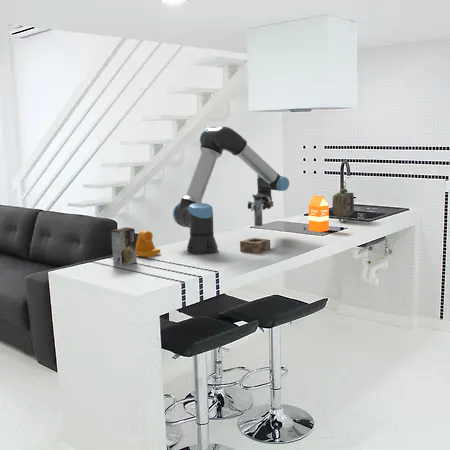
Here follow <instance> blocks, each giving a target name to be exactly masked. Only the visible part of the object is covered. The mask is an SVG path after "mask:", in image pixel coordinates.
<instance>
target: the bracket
mask: <svg viewBox="0 0 450 450" xmlns="http://www.w3.org/2000/svg"><path fill="white" fill-rule="evenodd" d="M153 238H154V237H153V233H152V232H151V231H149V230H143V229H141V230H140V231H139V232H138V234H137V238H136V240H135V244H136V256H138V257H142V258H143V257H144V258H151V257H155V256H158V254H161V248H158V247H157V248H156V247H155V244H154V242H153Z"/></svg>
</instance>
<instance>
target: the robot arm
mask: <svg viewBox="0 0 450 450" xmlns="http://www.w3.org/2000/svg"><path fill="white" fill-rule="evenodd" d="M199 143H200V146H199V149H200V150H199V151H200V152H201V153H200V155H199V159H198V162H197V164H196V167H195V169H194V172H193V175H192V178H191V181H190V183H189V186H188V187H187V188H188V189H187V191H186V194H185V196H184V195H183V196H182V197H181V200H180V201H179V203H178V204H176V205H175V206H174V208H173V210H172V217H173V220H174V222H175V223H176V224H177V225H179V226H180V227H183V228H189V239H188V243H187V246H186V252H187V254H193V255H209V254H214V253H217V252H218V251H219V250H218V249H219V248H218V245H217V244H218V243H217V241H216V238H215V235H214V212H213V211H214V210H213V206H212V205H210V204H209V203H205V202H204V203H202V202H203V198H204V195H205V193H206V191H207V187H208V184H209V182H210V179H211V177H212V173H213V171H214V168H215V165H216V162H217V160H218V158H220V157H221V156H222V155H223V151H227V152H229V153H230V154H232V155H233V156H234V157H235V156H237V157H238V158H239V159H240V160H241V161H243V162H244V163H245V164H246V166H248V167H249V168H250V169H251V170H252V171H254V172H255V173H256V174H257V175H256V177H257V178H256V182H257V183H256V184H257V194H263V197H262V205H261V211H262V212H263V211H264V210H269V209H271V208H272V207H274V201H273V197H272V191H279V192H280V191H282V192H283V191H284V192H285V191H287V190H288V189H289V187H290V180H289V179H288V177H286V176H283V175H282V176H281V174H279V173H278V171H276V170H275V169H274V168H273V167H272V166H271V165H269V164H268V163H267V162H266V161H265V159H263V158H262V157H261V156H260V155H259V154H258V153H257V152H256V151H254V149H253V148H252V147H251V146H250V145H248V141H247V140H246V139H245V138H244V137H243V136H242V135H241V134H239V133H238V132H237V131H235V130H234V129H233V128H231V127H228V126H210V127H207V128H205V129H204V130H203V131H202V132H201V133H200V137H199ZM247 209H248V210H250V211H251V212H254V201H253V202H252V201H248V203H247Z"/></svg>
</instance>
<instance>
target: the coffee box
mask: <svg viewBox="0 0 450 450" xmlns="http://www.w3.org/2000/svg"><path fill="white" fill-rule="evenodd" d="M110 234H111V248H112V249H111V250H112V262H113V263H112V264H113V266H118V267H124V266H128V265H132V264H135V263H138V262H137V260H138V259H137V258H138V257H137V255H136V235H135V234H136V233H135V228H134V227H133V228H132V227H121V228H116V229H111V230H110Z"/></svg>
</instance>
